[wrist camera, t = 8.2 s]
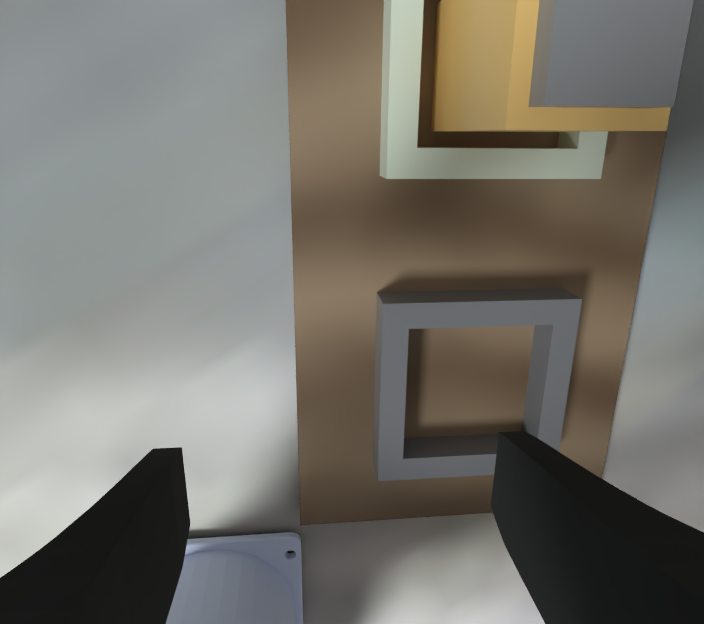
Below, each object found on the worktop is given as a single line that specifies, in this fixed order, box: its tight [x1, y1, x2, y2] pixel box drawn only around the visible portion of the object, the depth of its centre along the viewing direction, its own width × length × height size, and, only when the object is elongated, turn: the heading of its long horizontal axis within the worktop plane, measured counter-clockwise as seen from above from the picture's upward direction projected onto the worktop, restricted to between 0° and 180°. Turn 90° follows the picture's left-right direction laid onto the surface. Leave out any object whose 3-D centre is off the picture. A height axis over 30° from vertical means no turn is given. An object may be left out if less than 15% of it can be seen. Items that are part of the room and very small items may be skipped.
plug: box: [431, 0, 694, 132], centre depth 15 cm, size 4×4×8 cm
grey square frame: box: [373, 288, 582, 481], centre depth 21 cm, size 8×8×2 cm
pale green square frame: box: [380, 0, 608, 179], centre depth 18 cm, size 8×8×2 cm
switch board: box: [286, 0, 671, 525], centre depth 21 cm, size 26×14×1 cm, turn 0°
